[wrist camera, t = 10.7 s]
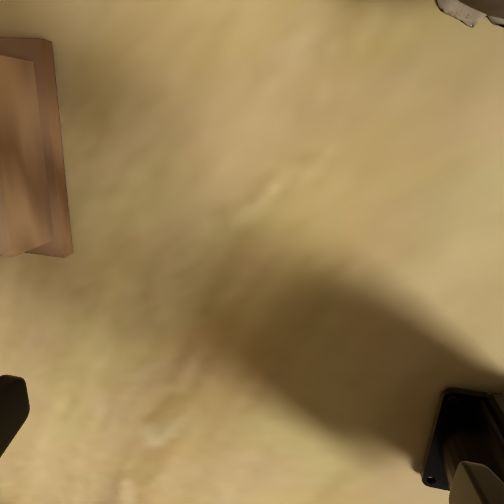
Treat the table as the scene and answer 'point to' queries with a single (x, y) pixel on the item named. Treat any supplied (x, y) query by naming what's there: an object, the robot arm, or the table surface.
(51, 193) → the socket board
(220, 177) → the table surface
